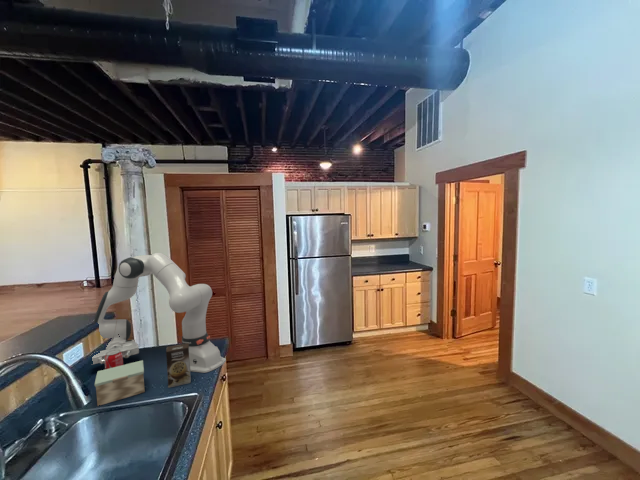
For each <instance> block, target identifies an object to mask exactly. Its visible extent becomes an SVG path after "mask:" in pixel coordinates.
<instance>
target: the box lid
mask: <svg viewBox="0 0 640 480" xmlns="http://www.w3.org/2000/svg"><path fill="white" fill-rule="evenodd" d="M140 374H143V375H144V374H145V368H144V360H143V359H142V360H139V361H135V362H134V361H133V362H129V363H126V364H123V365H121V366H117V367H113V368H109V369H105V368H104V369H103V370H102V369H101V370H98V371H97V373H96V376H95V381H94V387H95V388H96V386H100V385H103V384H107V383H111V382H113V383H115V382H119V381H123V380H126V379H128V378H129V377H133V376H137V375H140Z"/></svg>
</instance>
